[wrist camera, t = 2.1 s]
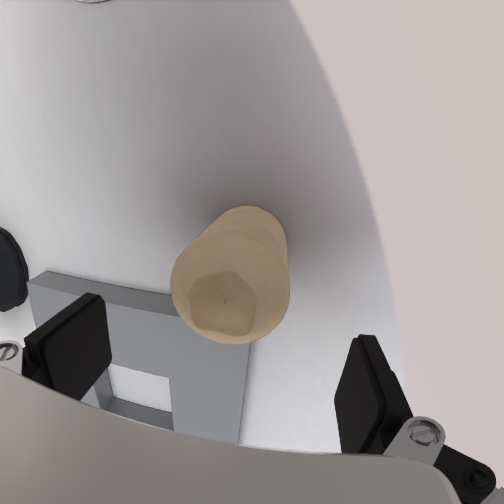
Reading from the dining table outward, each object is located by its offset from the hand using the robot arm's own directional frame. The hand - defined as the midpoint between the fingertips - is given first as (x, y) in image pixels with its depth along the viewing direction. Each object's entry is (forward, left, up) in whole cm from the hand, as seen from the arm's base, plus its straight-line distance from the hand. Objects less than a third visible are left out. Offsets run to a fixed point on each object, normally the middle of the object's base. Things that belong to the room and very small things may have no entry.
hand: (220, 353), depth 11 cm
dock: (+14, -9, -12) cm, 21 cm away
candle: (-1, 0, -12) cm, 12 cm away
